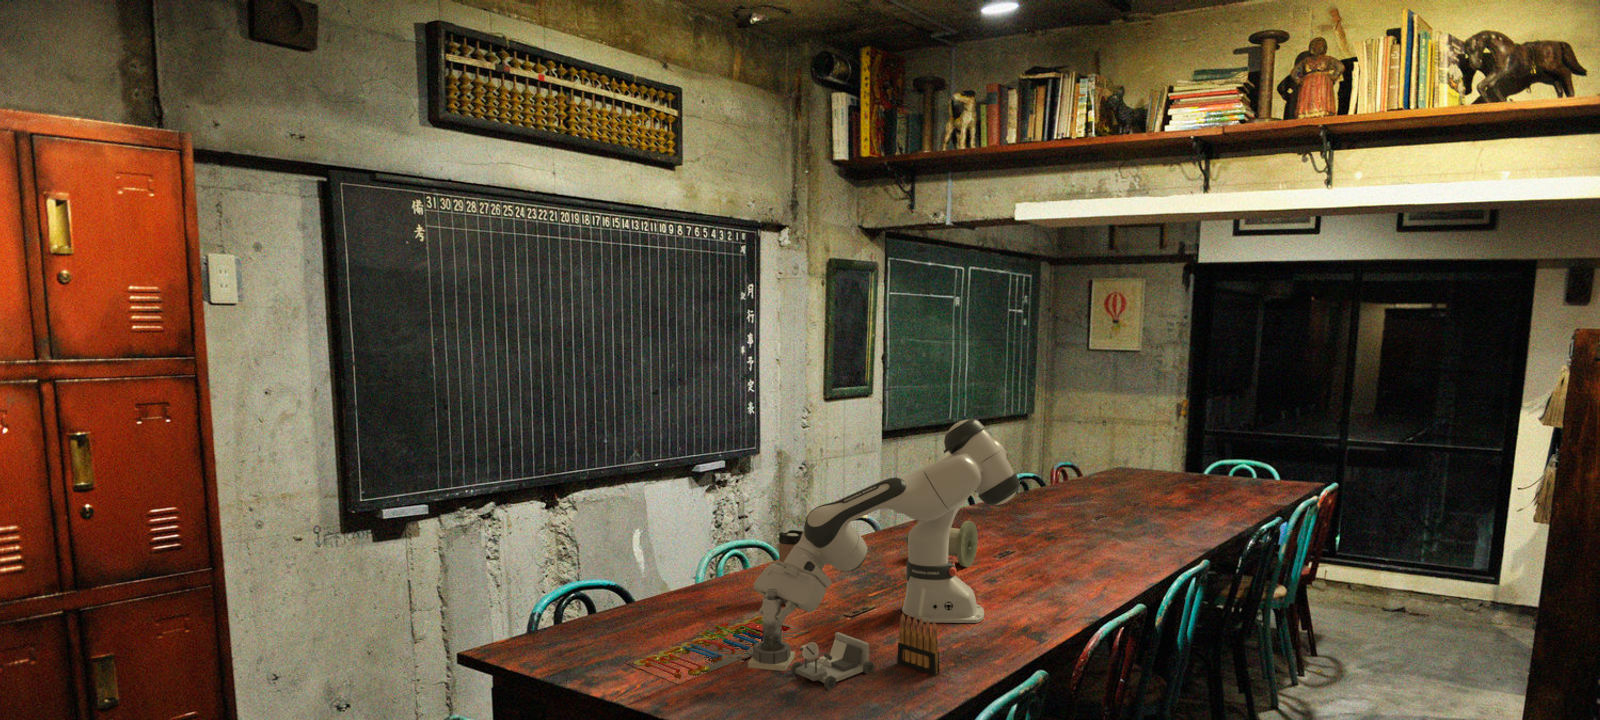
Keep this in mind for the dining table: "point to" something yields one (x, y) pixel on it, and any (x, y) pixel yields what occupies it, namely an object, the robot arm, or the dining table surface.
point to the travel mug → (788, 543)
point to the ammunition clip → (918, 646)
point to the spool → (964, 543)
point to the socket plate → (771, 656)
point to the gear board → (716, 657)
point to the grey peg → (771, 618)
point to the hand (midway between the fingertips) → (770, 616)
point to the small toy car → (835, 661)
